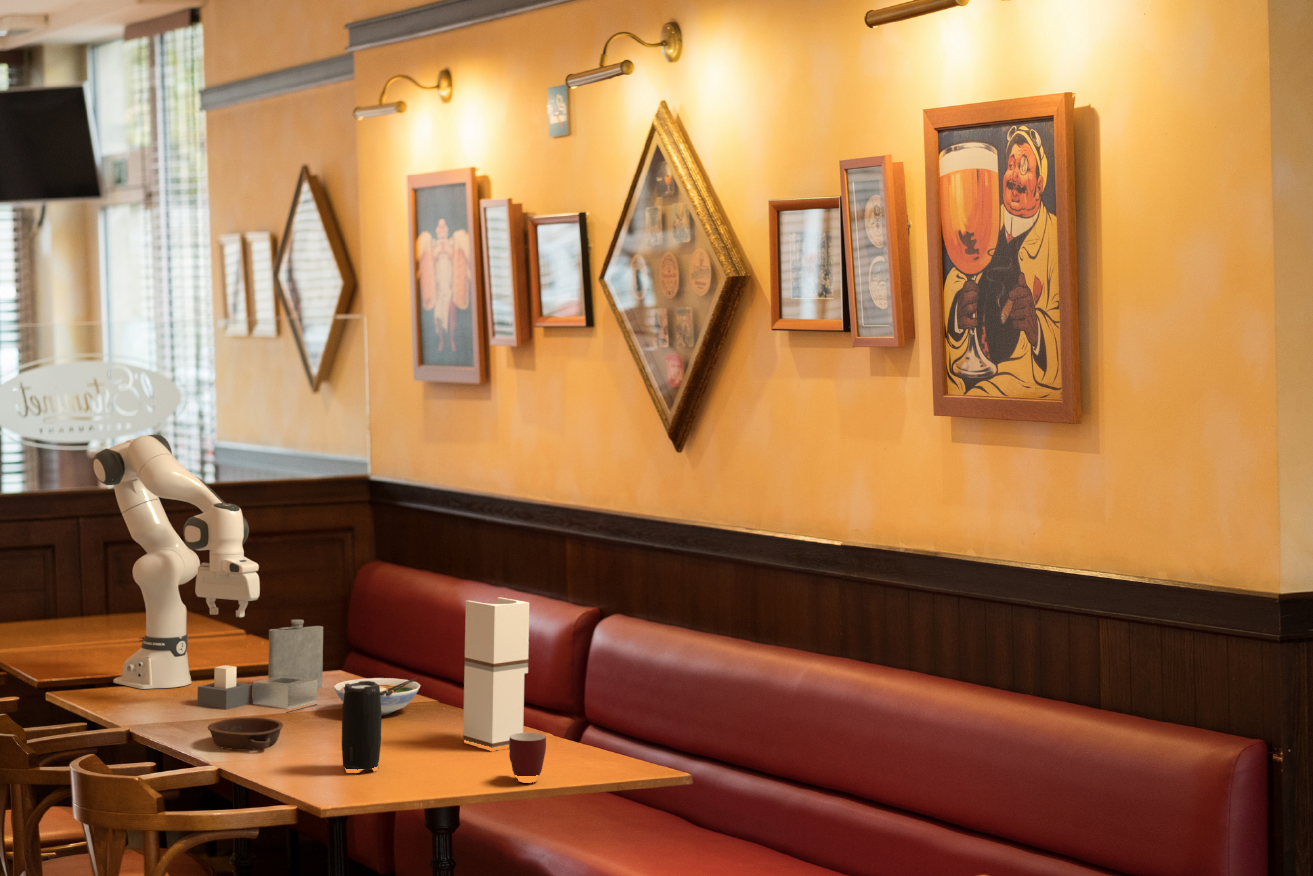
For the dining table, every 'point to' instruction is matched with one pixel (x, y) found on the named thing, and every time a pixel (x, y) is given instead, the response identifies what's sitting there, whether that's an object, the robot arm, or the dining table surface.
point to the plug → (225, 676)
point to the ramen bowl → (387, 692)
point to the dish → (245, 732)
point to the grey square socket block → (224, 696)
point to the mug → (527, 753)
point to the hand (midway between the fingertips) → (227, 615)
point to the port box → (285, 692)
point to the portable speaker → (361, 725)
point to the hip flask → (296, 651)
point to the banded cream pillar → (495, 670)
